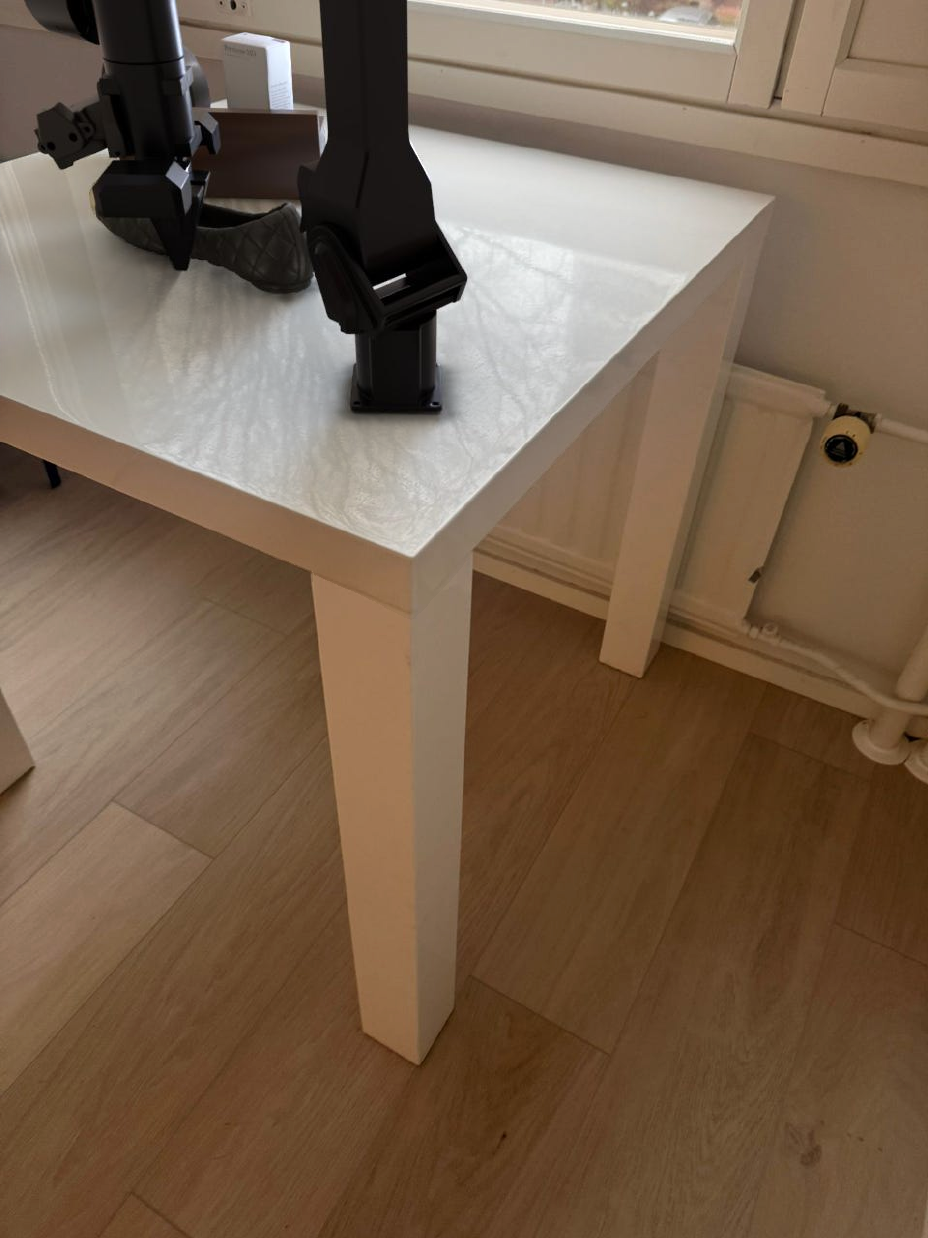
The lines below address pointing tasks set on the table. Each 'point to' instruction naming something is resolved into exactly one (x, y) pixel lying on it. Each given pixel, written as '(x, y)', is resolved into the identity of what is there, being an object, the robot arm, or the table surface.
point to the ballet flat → (236, 244)
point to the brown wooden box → (259, 151)
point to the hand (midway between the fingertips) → (181, 269)
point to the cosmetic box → (257, 72)
